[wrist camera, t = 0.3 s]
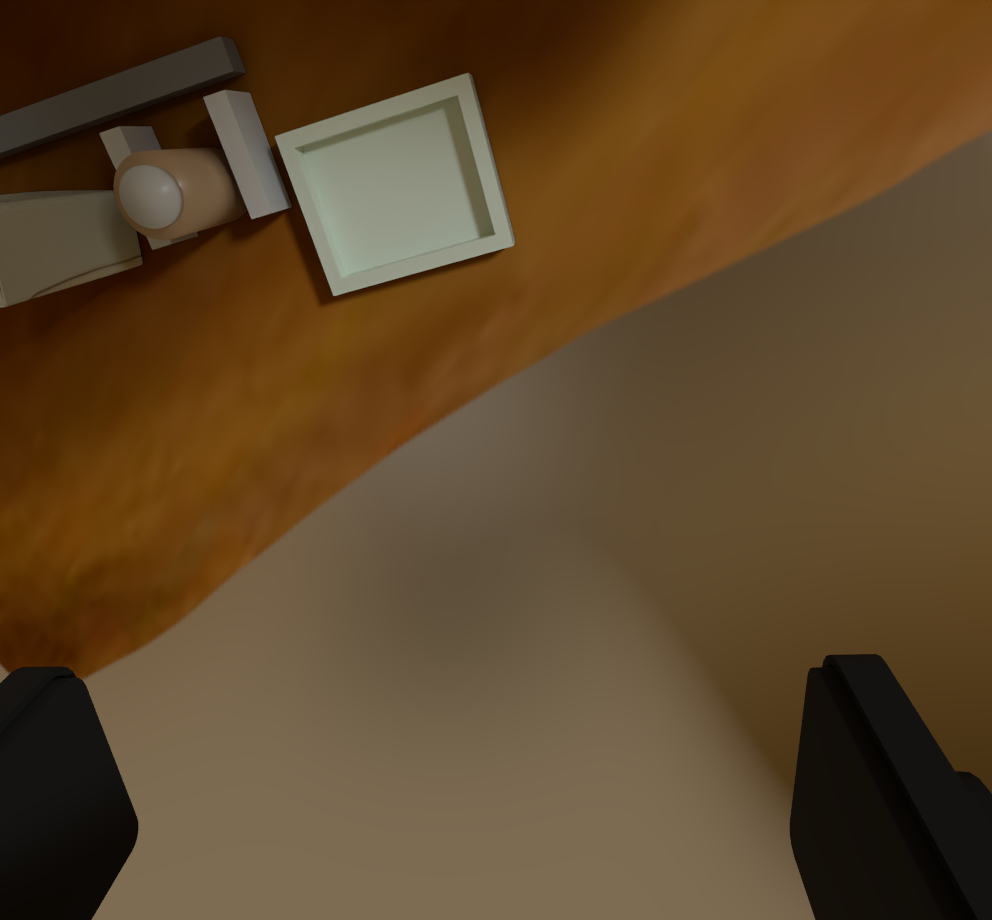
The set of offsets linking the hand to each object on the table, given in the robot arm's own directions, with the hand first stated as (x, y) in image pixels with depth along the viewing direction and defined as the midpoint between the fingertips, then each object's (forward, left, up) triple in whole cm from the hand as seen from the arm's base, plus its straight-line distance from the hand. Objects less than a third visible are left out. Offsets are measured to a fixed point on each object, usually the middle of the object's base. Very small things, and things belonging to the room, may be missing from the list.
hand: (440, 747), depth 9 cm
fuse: (-9, -16, -35) cm, 40 cm away
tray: (-6, -6, -35) cm, 36 cm away
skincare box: (-9, -24, -35) cm, 44 cm away
